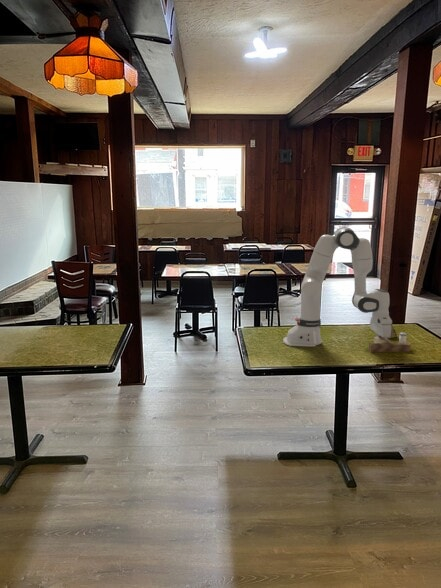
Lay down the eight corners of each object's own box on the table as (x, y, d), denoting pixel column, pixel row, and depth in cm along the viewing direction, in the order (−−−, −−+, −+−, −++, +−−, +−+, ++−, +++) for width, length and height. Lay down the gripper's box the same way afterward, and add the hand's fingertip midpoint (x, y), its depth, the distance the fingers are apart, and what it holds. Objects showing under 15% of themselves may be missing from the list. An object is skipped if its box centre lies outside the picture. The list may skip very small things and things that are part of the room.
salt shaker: (400, 348, 243) (401, 334, 241) (397, 345, 246) (398, 332, 245) (406, 347, 243) (408, 334, 241) (403, 345, 247) (404, 332, 245)
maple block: (379, 350, 239) (380, 341, 238) (373, 345, 247) (374, 336, 246) (390, 349, 240) (391, 341, 239) (383, 344, 248) (384, 336, 247)
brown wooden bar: (370, 352, 236) (371, 345, 235) (368, 350, 239) (369, 343, 238) (410, 351, 237) (410, 344, 236) (407, 349, 240) (408, 342, 239)
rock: (396, 331, 267) (379, 328, 269) (400, 322, 260) (383, 319, 263) (396, 345, 260) (379, 342, 262) (400, 337, 254) (382, 334, 256)
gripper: (367, 313, 256) (366, 335, 258) (382, 322, 236) (381, 346, 238) (378, 312, 256) (376, 335, 259) (393, 321, 236) (392, 346, 239)
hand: (378, 340), depth 249 cm, fingers closed
